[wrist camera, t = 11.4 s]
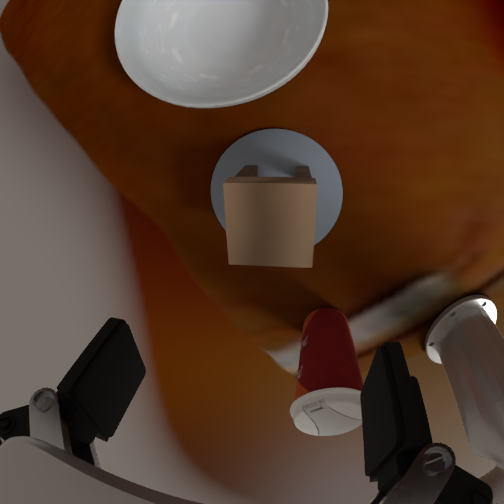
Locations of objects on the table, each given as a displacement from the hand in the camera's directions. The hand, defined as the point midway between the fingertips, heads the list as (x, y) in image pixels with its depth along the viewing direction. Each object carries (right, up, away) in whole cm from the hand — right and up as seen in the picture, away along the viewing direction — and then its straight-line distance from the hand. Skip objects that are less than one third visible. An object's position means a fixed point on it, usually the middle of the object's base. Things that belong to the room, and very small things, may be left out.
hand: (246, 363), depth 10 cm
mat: (+3, +10, +18) cm, 21 cm away
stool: (+3, +9, +18) cm, 20 cm away
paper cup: (+9, -5, +25) cm, 27 cm away
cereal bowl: (-2, +25, +11) cm, 27 cm away
